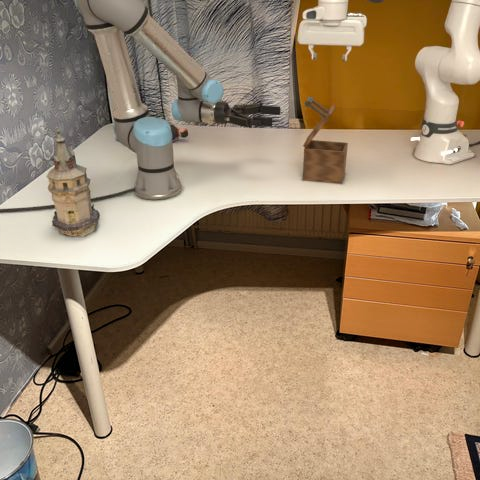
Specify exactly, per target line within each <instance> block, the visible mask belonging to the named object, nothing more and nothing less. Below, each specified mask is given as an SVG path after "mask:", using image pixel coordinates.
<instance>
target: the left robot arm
mask: <svg viewBox="0 0 480 480" xmlns="http://www.w3.org/2000/svg"><path fill="white" fill-rule="evenodd" d="M73 1H74V4H75V7H76V10H78V11H79V13H80V14H81V15H82V16H83V20H84V23H85V26H86V30H87V31H89V32H90V33H92V34H93V35H94V36H93V37H94V40H95V43H96V46H97V49H98V52H99V56H100V60H101V63H102V67H103V69H104V73H105V76H106V79H107V84H108V87H109V90H110V95H111V97H112V101H113V103H114V107H115V110H114V111H113V113H112V118H113V120H114V122H113V125H112V126H113V127H112V129H113V134H114V136H115V139H116V138H117V139H118V142H119V143H120V144H121V145H122V146H124V147H125V148H127V149H129V150H130V151H132V152H133V153H135V154H136V161H137V175H136V179H135V184H134V187H133V188H129V189H125V190H122V191H119V192H115V193H111V194H106V195H102V196H96V197H91V203H92V202H96V201H102V200H106V199H110V198H115V197H119V196H122V195H126V194H129V193H132V192H133V193H135V195H136V196H137V197H138V198H141V199H143V200H148V201H161V200H168V199H171V198H174V197H176V196H178V195H179V194H180V193H181V192H182V182H181V180H180V177H179V176H180V175H179V173H178V172H177V171H176V169H175V161H174V160H175V159H174V158H175V157H174V146H173V145H174V144H173V141H172V132H171V126H170V122H168V121H167V120H166V119H164V118H161V117H156V116H150V115H151V114H150V111H149V108H148V106H147V104H144V103H143V101H142V99H141V94H140V90H139V87H138V84H137V80H136V76H135V73H134V72H135V71H134V68H133V65H132V61H131V57H130V53H129V50H128V46H127V42H126V38H125V35H126V36H131V37H132V38H134V39H135V40H136V41H137V42H138V43H139V44H140V45H142V47H144V48H145V49H146V50H147V51H148V52H149V53H151V55H152V56H153V57H155V58H156V59H157V60H158V62H159V63H161V65H163V66H164V67H165V68H166V69H167V70H168V71H170V72H171V74H173V75H174V76H175V78H176V86H177V87H176V89H177V98H176V99H174V100H173V101H172V103H171V116H172V118H173V120H175V121H178V122H185V123H202V124H203V123H204V124H207V125H210V124H217V125H227V124H232V125H236V126H240V127H243V128H248V129H252V128H253V126H254V127H255V126H258V127H269V128H270V127H271V128H272V127H273V117H264V116H263V117H262V116H252V117H251V116H249V115H254V114H261V115H273V116H274V115H275V116H280V115H281V106H277V105H263V102H259V103H251V104H234V105H233V107H230V105H229V103H228V102H227V101H221V100H222V98H223V96H224V92H225V90H224V89H225V88H224V85H223V84H222V82H220V81H219V80H218V79H215V78H213V77H211V76H210V74H209V73H208V72H207V71H205V69H204V68H203V67H201V65H199V64H198V62H196V60H194V58H193V57H192V56H190V54H188V53H187V51H186V50H185V49H184V48H183V47H182V46H181V45H180V44H179V43H178V42H177V41H176V40H175V39H173V37H172V36H171V35H170V34H169V33H168V32H167V31H166V30H165V29H164V28H162V26H161V25H160V24H159V23H158V22H157V21H156V20H155V19H154V18H153V17H152V16H151V15H150V10H149V8H148V7H147V6H146V5H145V4H144V3H143V2H142V1H141V0H73ZM117 139H116V140H117ZM48 209H55V205H54V204H48V205H37V206H27V207H11V208H0V213H11V212H26V211H27V212H28V211H39V210H48Z"/></svg>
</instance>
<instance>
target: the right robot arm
mask: <svg viewBox="0 0 480 480" xmlns="http://www.w3.org/2000/svg"><path fill="white" fill-rule="evenodd" d="M366 1H368V2H370V3H374V4H380V3H384V2H385V1H386V0H366ZM348 7H349V0H318V1H317V6H313V7H310V8H307V9H305V10H304V11H302V20H301V21H300V23H299V26H298V32H297V43H298V44H299V45H308V50H309V52H310V54H311V60H312V61H316V60H317V59H318V52H315V51H314V47H315V46H343V47H344V46H345V47H346V50H347V51H346V53H342V56H341V61H342V62H347V61H348V55H349V54H350V52H351V51H352V48H353V47H361V46H362V45H363V44H365V29H366V27H367V24H368V17H367V15H365V14H364V13H362V12H348V9H349V8H348ZM444 30H445V32H446V33H447V34H448V35H449V36H450V39H451V46H450V47H448V46H447V47H446V46H440V45H430V46H424V47H423V48H421V49H420V50H419V51H418V53H417V55H416V56H415V59H414V68H415V70H416V72H417V74H418V75H419V77H420V78H421V80H422V82H423V85H424V90H425V106H424V107H425V108H424V113H423V114H424V115H423V117H422V120H421V125H420V133H419V136H417V137H411V138H410V141H417V145H416V146H415V150H414V152H413V156H414V157H415V158H416V159H418V160H420V161H424V162H428V163H434V164H435V163H436V164H442V165H443V164H444V165H453V164H456V163H459V162H462V161H465V160H468V159H472V158H474V157H475V153H474V152H473V151H472V150H471V149H470V147H473V146H477V145H479V144H480V140H478V141H477V142H475V143H470V141H469V138H468V137H467V134H464V133H462V132H461V131H459V127H460V128H463V127H464V126H465V121H464V120H463V121H462V120H461V119H460V120H457V115H458V110H459V104H460V99H459V96H458V95H457V94H456V92H455V91H454V90H453V88H452V86H451V85H452V84H455V85H459V86H460V85H461V86H463V85H464V86H468V85H475V84H477V83H478V82H480V48H479V38H478V37H479V32H480V31H479V30H480V0H451V2H450V5H449V9H448V13H447V15H446V18H445V22H444Z"/></svg>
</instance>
